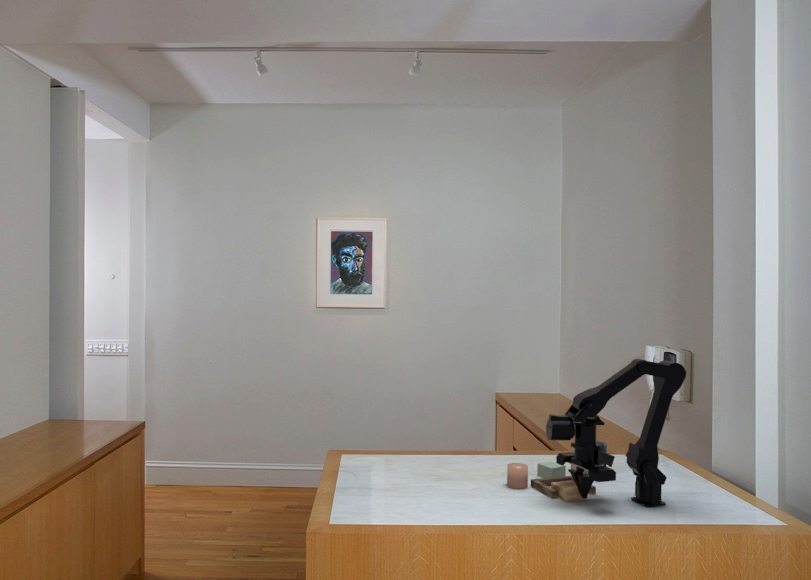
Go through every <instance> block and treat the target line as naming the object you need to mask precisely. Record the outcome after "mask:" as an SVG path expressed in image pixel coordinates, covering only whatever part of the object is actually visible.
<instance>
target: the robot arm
mask: <svg viewBox="0 0 811 580" xmlns="http://www.w3.org/2000/svg"><path fill="white" fill-rule="evenodd" d="M644 375H648V376H651V377H653V378H652V380H653V387H654V388H653V389H654V390H653V391H654V392H653V393H652V397H651V401H650V405H649V407H648V411H647V413H646V416H645V417H646V418H645V420H644V424H643V426H642V430H641V433H640V437H639V438H638V440H637V441H636V442H635V443H633V442H629V444H628V450H627V452H626V453H625V455H624V456H625V457H626V464H627V466H628V468H630V469H631V471H632V473H633V475H634V476H636V477H635V483H634V485H635V486H634V489H635V490H634V496H631V497H630V499H631V500H632V501H634V502H636V503H638V504H641V505H642V506H644V507H646V508H647V507H648V508H649V507H650V508H651V507H657V506H659V507H660V506H665V505H667V503H666V502H665V501H663V500H662V486H663V485H665V483H666V481H667V476H666V475H665V474H664V473H663V472H662V471H661V470H660V469H659V468H658V467H659V462H660V459H659V458H660V457H659V449H658V448H659V447H658V446H659V442H660V438H661V435H662V431H663V428H664V425H665V422H666V420H667V416H668V414H669V413H668V412H669V410H670V406H671V402H672V400H673V397H674V395H675V394H676V393H677V392H678V391H679V390H680V389H681V387H682V385H683V384H684V382H685V380H686V377H687V370H686V368H685V367H684V365H683V364H681V363H678V362H676V361H675V362H674V361H669V360H661V361H659V362H655V361H649V360H645V359H642V358H641V359H640V358H635V359H633V360H632V361H631V362H630V363H629V364H627V365H626V366H625V367H623V368H622V369H620V370H618V371H617V372H615V374H613V375H612V376H610V377H609V378H607V379H606V380H604V382H602V383H600V384H599V385H597V386H594V387H592V388H588V389H585V390H584V391H582V392H580V393H577V394H576V395H575V396H574V397H573V399H572V404H571V405H570V406H569V408H567V410H566V412H565V413H564V415H563V414H562V415H561V414H560V415H558V414H557V415H556V414H548V419H547V421H546V425H545V434H546V438H547V440H548V441H570V440H572V439H573V440H574V441H573V442H570V447H571V448H573V449H574V450H573V451H571V452H570V451H569V452H567V451H566V452H559V453H558V454H557V455H556V456H555V457H556V459H555V460H556V461H555V462H556V463H558V464H560V465H565V464H566V463H569V464H570V469H568V472H569V473H570V476H572V477H573V479H574V481H575V483H576V485H577V488H578V490H579V492H580V495H581V497H582V498H587V499H588V495H589V491H590V488H591V486H592V485H593V484H594V482H596V483H604V482H614V481H616V480H617V472H616V471H615V469H614V468H612V467H613V464H614V461H615V458H616V457H615V455H612V454H610V453H605V452H602V451H601V447H600V446H599V445H596V441H597V429H598V428H597V426H605V422H604V421H603V420H602V419H601V417H600V416H599V415H598V414H599V413H601V411H602V410H603V409H604V408H605V407H606V406H607V404H608V402H609V401H610V400H611V399H612V398H613V397H615V396H616V395H618V394H619V393H621V392H622V391H623V390H625V389H626V388H627V387H629V386H630V385H631V384H633V383H634V382H636V381H638V379H640V378H642V377H643V376H644ZM601 463H602V464H606V466H598V467H596V466H595V465H601Z"/></svg>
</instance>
